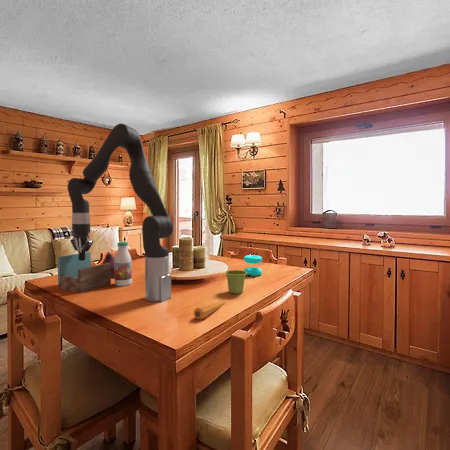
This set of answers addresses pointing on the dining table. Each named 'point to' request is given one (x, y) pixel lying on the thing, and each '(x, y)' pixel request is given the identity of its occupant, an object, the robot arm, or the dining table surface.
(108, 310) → the dining table surface
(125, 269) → the milk bottle
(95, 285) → the wooden box
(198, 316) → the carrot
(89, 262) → the teal card
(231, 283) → the plant pot
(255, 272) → the donuts
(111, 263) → the vegetable
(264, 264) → the dining table surface
